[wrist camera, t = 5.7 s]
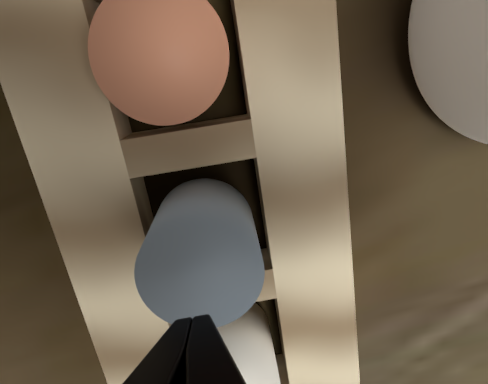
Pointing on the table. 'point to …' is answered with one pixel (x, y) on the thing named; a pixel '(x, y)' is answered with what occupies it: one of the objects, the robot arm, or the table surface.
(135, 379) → the robot arm
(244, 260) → the button slate
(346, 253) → the board
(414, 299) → the table surface
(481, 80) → the cup
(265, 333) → the button cream
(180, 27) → the button terracotta
